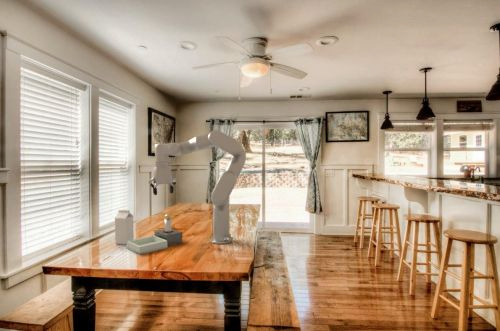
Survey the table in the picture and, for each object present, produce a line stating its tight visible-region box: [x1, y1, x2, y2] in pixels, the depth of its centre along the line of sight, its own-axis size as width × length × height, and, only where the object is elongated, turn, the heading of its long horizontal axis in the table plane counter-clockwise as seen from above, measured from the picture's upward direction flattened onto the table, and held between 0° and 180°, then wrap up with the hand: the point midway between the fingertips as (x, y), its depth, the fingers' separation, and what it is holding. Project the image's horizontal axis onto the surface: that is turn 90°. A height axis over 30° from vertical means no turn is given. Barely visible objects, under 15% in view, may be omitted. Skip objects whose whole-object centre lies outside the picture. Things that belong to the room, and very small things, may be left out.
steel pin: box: [164, 213, 172, 233], centre depth 166 cm, size 4×4×16 cm
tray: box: [126, 235, 168, 256], centre depth 155 cm, size 16×16×4 cm
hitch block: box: [153, 228, 183, 247], centre depth 166 cm, size 14×10×6 cm
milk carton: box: [114, 209, 135, 245], centre depth 166 cm, size 7×7×19 cm
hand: (163, 193), depth 167 cm, fingers open, 9 cm apart
